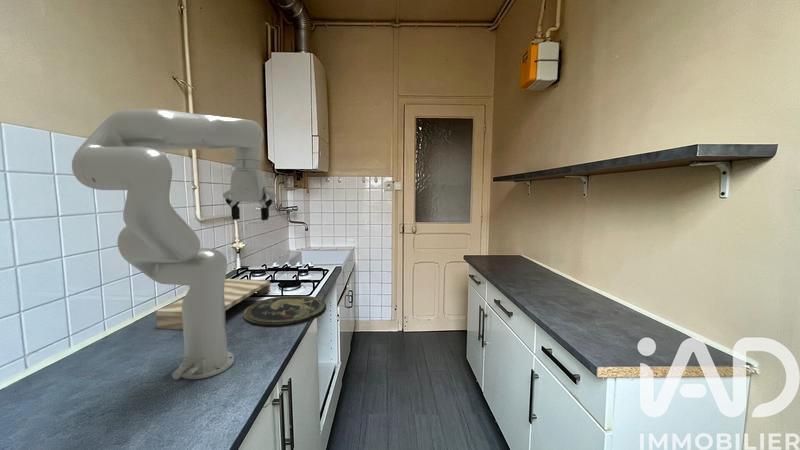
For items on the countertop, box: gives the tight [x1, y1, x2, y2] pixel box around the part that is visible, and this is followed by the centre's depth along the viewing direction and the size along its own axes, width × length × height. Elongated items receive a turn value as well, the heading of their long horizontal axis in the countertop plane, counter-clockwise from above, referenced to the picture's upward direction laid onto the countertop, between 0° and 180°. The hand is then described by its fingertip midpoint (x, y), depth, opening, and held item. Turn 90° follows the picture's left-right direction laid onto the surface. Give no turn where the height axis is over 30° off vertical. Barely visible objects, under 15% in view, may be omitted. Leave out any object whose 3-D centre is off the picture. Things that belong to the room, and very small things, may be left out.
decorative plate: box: [242, 294, 327, 328], centre depth 125 cm, size 30×2×30 cm
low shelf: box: [155, 278, 271, 330], centre depth 127 cm, size 39×20×6 cm, turn 175°
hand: (250, 219), depth 106 cm, fingers open, 9 cm apart
